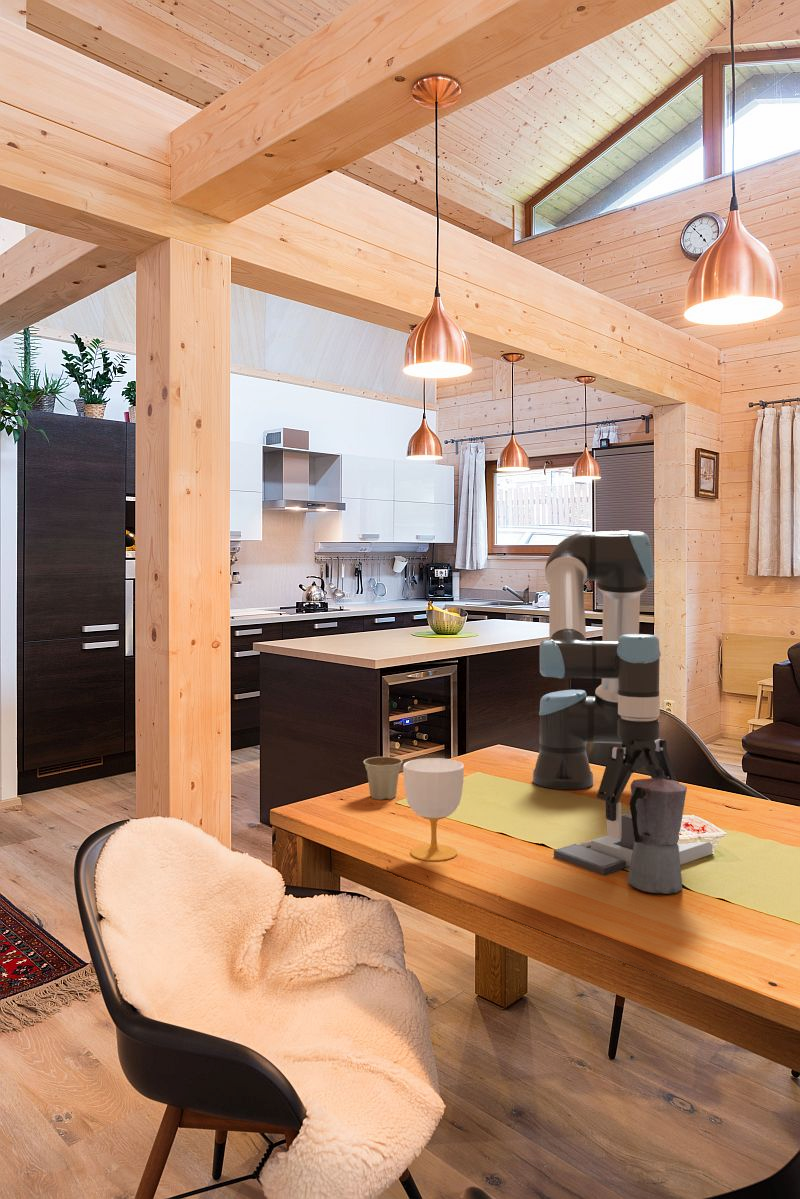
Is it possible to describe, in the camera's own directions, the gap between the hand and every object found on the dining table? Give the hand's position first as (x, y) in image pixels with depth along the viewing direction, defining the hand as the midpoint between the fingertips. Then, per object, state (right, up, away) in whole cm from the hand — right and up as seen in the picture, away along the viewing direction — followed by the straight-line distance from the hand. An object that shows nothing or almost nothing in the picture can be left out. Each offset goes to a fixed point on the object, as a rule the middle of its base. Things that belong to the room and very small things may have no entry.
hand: (638, 830), depth 153 cm
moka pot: (-1, -6, -14) cm, 15 cm away
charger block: (0, -5, 0) cm, 5 cm away
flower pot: (-49, -4, +44) cm, 66 cm away
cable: (-6, -5, +8) cm, 11 cm away
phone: (-10, -5, -2) cm, 11 cm away
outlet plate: (+3, -5, +2) cm, 7 cm away
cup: (-38, -6, +4) cm, 39 cm away
